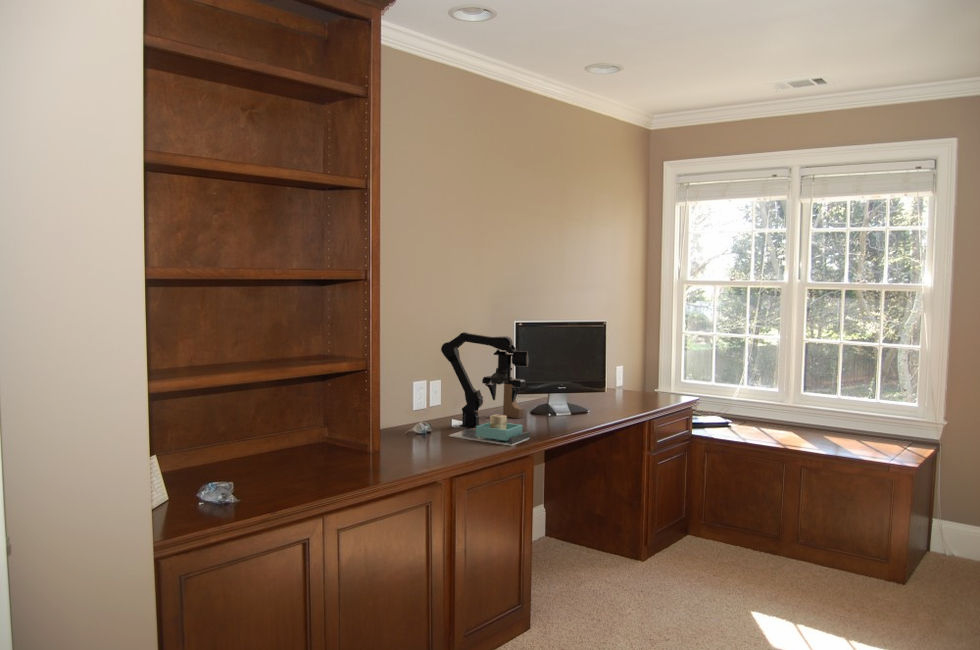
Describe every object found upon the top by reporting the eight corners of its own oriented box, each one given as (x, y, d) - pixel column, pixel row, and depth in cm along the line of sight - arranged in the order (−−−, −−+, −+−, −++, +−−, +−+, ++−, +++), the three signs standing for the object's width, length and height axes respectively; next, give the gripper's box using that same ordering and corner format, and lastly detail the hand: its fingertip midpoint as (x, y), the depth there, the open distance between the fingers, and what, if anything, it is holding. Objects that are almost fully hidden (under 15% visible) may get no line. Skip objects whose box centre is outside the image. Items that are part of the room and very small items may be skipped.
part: (489, 433, 309) (490, 416, 308) (495, 431, 313) (496, 414, 313) (500, 434, 306) (500, 417, 306) (506, 432, 311) (506, 415, 310)
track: (448, 436, 312) (449, 429, 312) (468, 430, 326) (468, 423, 326) (511, 445, 298) (511, 438, 298) (529, 438, 312) (529, 431, 312)
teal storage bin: (475, 437, 307) (476, 426, 307) (492, 431, 319) (492, 421, 319) (506, 442, 300) (506, 430, 300) (522, 436, 312) (522, 425, 312)
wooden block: (523, 417, 360) (525, 379, 359) (518, 418, 356) (520, 380, 355) (507, 415, 365) (509, 377, 364) (502, 416, 361) (503, 378, 360)
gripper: (476, 365, 327) (475, 401, 328) (515, 369, 318) (513, 406, 319) (489, 363, 337) (487, 398, 338) (526, 366, 328) (525, 402, 329)
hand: (503, 401), depth 331 cm, fingers open, 9 cm apart
